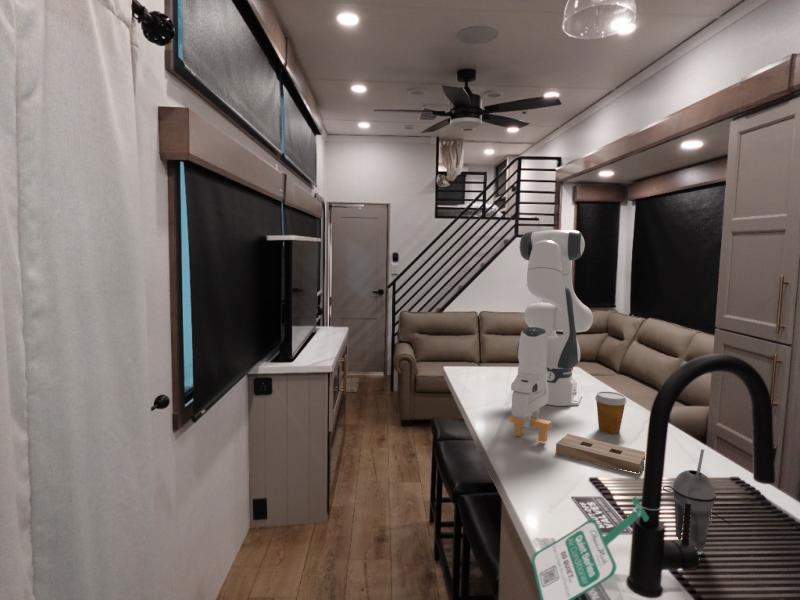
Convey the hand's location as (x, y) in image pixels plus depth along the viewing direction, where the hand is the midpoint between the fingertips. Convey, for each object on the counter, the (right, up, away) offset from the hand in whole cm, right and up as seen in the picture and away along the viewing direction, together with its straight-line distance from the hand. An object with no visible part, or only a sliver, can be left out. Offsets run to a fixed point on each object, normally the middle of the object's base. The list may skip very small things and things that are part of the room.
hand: (530, 424), depth 149 cm
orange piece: (0, -4, 0) cm, 4 cm away
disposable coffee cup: (+29, -5, +10) cm, 30 cm away
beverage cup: (+16, -10, -55) cm, 58 cm away
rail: (+16, -6, -13) cm, 22 cm away
